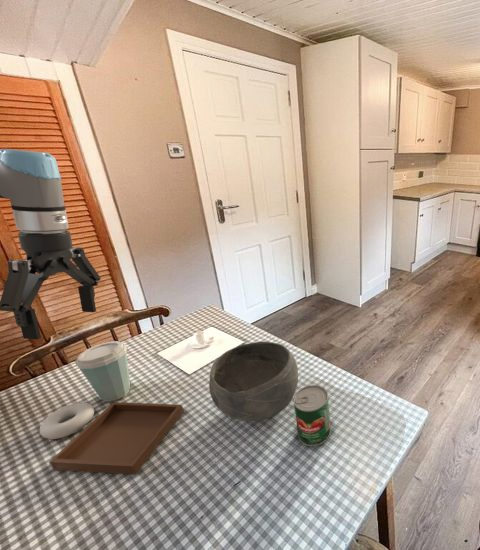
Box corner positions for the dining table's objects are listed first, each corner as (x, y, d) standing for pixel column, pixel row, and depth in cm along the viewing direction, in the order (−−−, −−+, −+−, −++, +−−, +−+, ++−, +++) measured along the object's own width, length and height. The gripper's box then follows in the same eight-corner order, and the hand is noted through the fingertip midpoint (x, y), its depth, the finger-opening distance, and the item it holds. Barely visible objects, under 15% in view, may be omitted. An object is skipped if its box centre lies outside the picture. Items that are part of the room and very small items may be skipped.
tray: (53, 470, 65) (48, 461, 64) (116, 409, 80) (113, 401, 79) (135, 474, 64) (132, 466, 63) (184, 412, 79) (181, 404, 78)
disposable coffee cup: (83, 403, 82) (61, 358, 77) (121, 377, 92) (104, 335, 86) (113, 410, 80) (93, 364, 74) (149, 382, 90) (134, 340, 84)
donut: (100, 422, 77) (91, 402, 83) (96, 412, 75) (86, 393, 81) (46, 450, 70) (39, 427, 75) (39, 440, 68) (34, 416, 74)
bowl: (220, 390, 86) (209, 346, 81) (295, 372, 93) (290, 331, 88) (214, 454, 68) (200, 403, 63) (307, 425, 75) (302, 377, 69)
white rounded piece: (220, 341, 109) (218, 331, 107) (199, 352, 103) (196, 342, 101) (206, 334, 113) (203, 324, 112) (184, 344, 107) (182, 335, 106)
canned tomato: (326, 414, 78) (323, 381, 74) (334, 440, 71) (332, 404, 67) (295, 424, 75) (291, 390, 71) (301, 451, 69) (296, 415, 64)
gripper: (-7, 243, 51) (21, 354, 57) (110, 224, 75) (122, 304, 81) (-54, 239, 50) (-21, 351, 56) (79, 221, 74) (93, 301, 80)
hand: (63, 323), depth 69 cm, fingers open, 13 cm apart
